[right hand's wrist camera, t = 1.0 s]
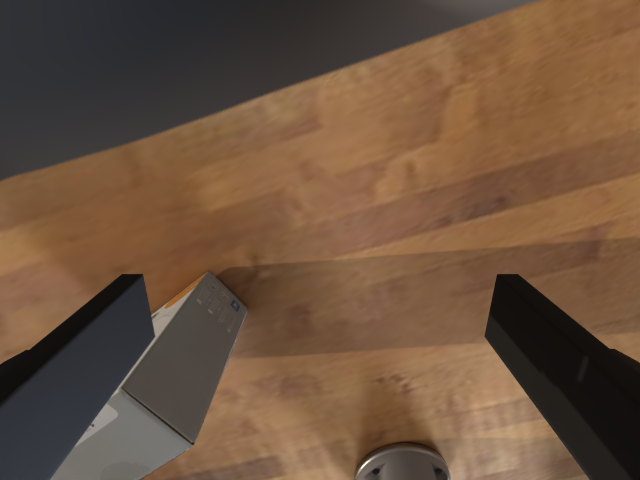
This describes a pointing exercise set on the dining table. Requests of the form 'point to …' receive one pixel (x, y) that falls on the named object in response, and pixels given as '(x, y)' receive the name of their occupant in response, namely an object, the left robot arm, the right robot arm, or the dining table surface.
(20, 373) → the right robot arm
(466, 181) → the dining table surface
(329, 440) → the dining table surface
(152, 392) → the hard drive box
